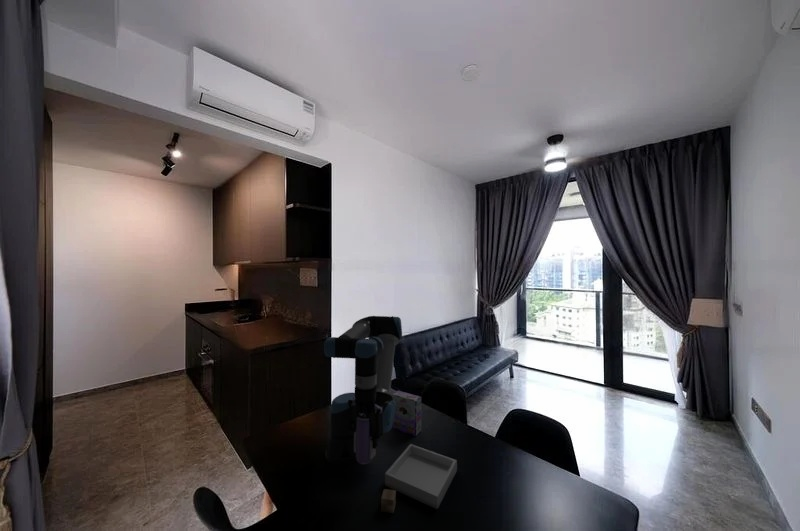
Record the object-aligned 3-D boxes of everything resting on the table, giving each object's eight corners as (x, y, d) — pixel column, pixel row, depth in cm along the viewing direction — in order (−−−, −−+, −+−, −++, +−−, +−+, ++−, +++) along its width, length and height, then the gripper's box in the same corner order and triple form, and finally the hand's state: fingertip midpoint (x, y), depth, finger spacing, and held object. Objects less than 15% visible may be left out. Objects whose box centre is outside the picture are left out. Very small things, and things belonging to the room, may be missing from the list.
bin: (384, 485, 96) (384, 473, 97) (410, 453, 114) (410, 443, 114) (437, 509, 87) (437, 496, 87) (456, 471, 104) (456, 460, 104)
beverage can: (365, 467, 89) (366, 421, 90) (352, 460, 92) (352, 416, 93) (376, 457, 94) (377, 413, 95) (363, 451, 97) (364, 408, 98)
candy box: (421, 431, 131) (422, 396, 131) (415, 437, 126) (416, 400, 126) (397, 422, 138) (398, 389, 139) (391, 427, 133) (391, 393, 134)
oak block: (381, 511, 86) (381, 498, 86) (383, 501, 90) (384, 488, 90) (393, 513, 85) (393, 500, 85) (395, 503, 89) (395, 490, 89)
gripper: (337, 383, 95) (336, 450, 95) (382, 396, 86) (381, 470, 85) (351, 376, 102) (350, 438, 101) (394, 387, 92) (393, 456, 92)
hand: (364, 453), depth 93 cm, fingers closed on beverage can, 6 cm apart
